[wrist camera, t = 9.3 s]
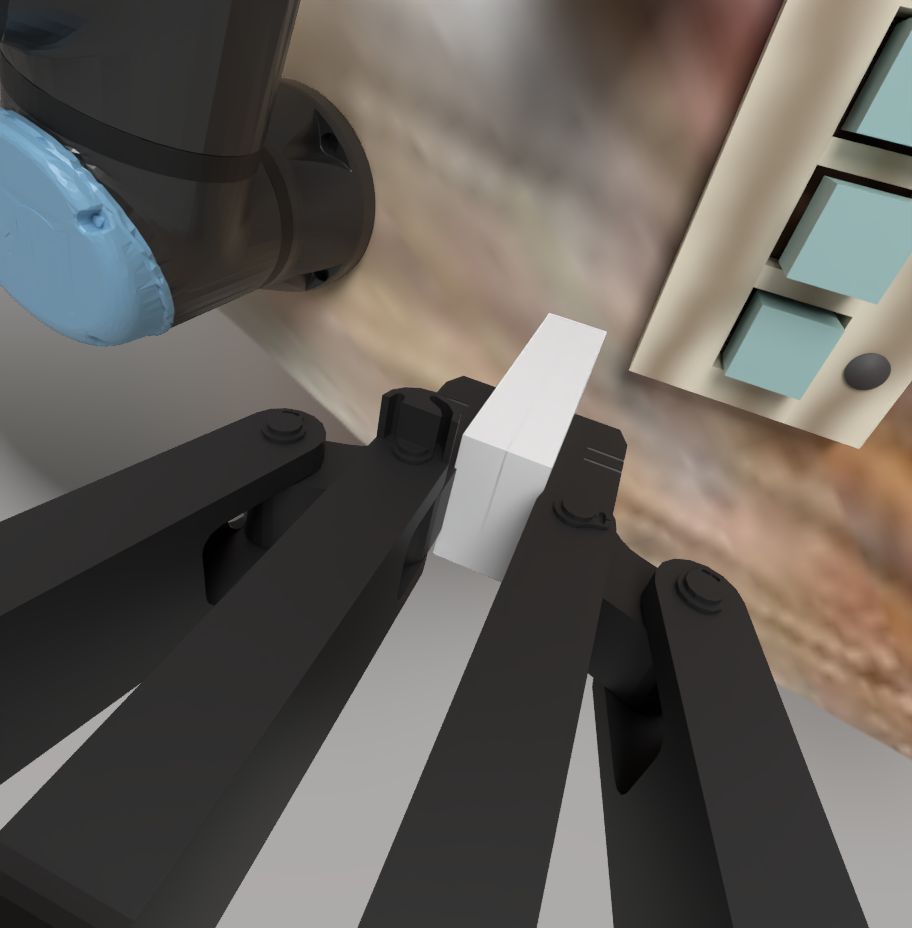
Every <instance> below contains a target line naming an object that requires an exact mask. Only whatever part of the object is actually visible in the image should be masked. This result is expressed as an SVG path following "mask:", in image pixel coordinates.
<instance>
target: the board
mask: <svg viewBox="0 0 912 928" xmlns="http://www.w3.org/2000/svg"><path fill="white" fill-rule="evenodd" d="M895 16H897V17H902V18H907V19H909V18H912V0H784V1H783V4H782V6H781V8H780V11H779V13H778V16H777V18H776V20H775V23H774V25H773V27H772V30H771V32H770V34H769V37H768V39H767V41H766V44H765V46H764V48H763V51H762V53H761V56H760V58H759V60H758V63H757V65H756V67H755V70H754V72H753V74H752V77H751V79H750V81H749V84H748V86H747V88H746V91H745V93H744V96H743V98H742V100H741V103H740V105H739V107H738V110H737V112H736V114H735V117H734V119H733V121H732V124H731V126H730V128H729V131H728V133H727V136H726V138H725V140H724V143H723V145H722V147H721V150H720V152H719V154H718V157H717V159H716V161H715V164H714V166H713V168H712V171H711V173H710V176H709V178H708V180H707V183H706V185H705V187H704V190H703V192H702V194H701V197H700V199H699V201H698V204H697V206H696V208H695V211H694V213H693V216H692V218H691V220H690V223H689V225H688V227H687V230H686V232H685V234H684V237H683V239H682V241H681V244H680V246H679V248H678V251H677V253H676V256H675V258H674V260H673V263H672V265H671V267H670V270H669V272H668V274H667V277H666V279H665V281H664V284H663V286H662V289H661V291H660V293H659V296H658V298H657V300H656V303H655V305H654V307H653V310H652V312H651V314H650V317H649V319H648V321H647V324H646V326H645V329H644V331H643V333H642V336H641V338H640V340H639V343H638V345H637V347H636V350H635V352H634V354H633V357H632V361H631V365H630V368H629V371H632V372H635V373H638V374H641V375H643V376H646V377H649V378H652V379H655V380H658V381H661V382H664V383H667V384H670V385H673V386H676V387H679V388H682V389H685V390H687V391H690V392H693V393H696V394H699V395H702V396H705V397H708V398H711V399H714V400H717V401H720V402H723V403H726V404H729V405H731V406H734V407H737V408H740V409H743V410H746V411H749V412H752V413H755V414H758V415H761V416H764V417H767V418H770V419H772V420H775V421H778V422H781V423H784V424H787V425H790V426H793V427H796V428H799V429H802V430H805V431H808V432H811V433H814V434H816V435H819V436H822V437H825V438H828V439H831V440H834V441H837V442H840V443H843V444H846V445H849V446H852V447H855V448H858V449H860V447H861V446H862V445H863V444H864V442H865V441H866V440H867V438H868V437H869V436H870V434H871V433H872V432H873V430H874V429H875V428H876V427H877V425H878V424H879V423H880V421H881V420H882V419H883V417H884V416H885V415H886V413H887V412H888V411H889V410H890V408H891V407H892V406H893V404H894V403H895V402H896V400H897V399H898V398H899V396H900V395H901V394H902V393H903V391H904V390H905V389H906V387H907V386H908V385H909V383H910V382H911V381H912V253H911V255H910V256H909V258H908V259H907V261H906V262H905V264H904V265H903V267H902V268H901V270H900V271H899V273H898V274H897V276H896V277H895V279H894V280H893V282H892V283H891V285H890V286H889V288H888V289H887V291H886V292H885V294H884V295H883V297H882V298H881V300H880V301H879V303H878V304H873V303H870V302H867V301H863V300H860V299H857V298H853V297H850V296H847V295H843V294H840V293H837V292H833V291H830V290H827V289H823V288H820V287H816V286H813V285H810V284H806V283H803V282H800V281H796V280H793V279H790V278H786V276H785V274H784V272H783V270H782V268H781V266H780V264H779V262H778V261H779V260H778V259H775V258H771V257H769V256H770V254H771V252H772V250H773V248H774V247H775V245H776V243H777V241H778V239H779V237H780V235H781V233H782V231H783V229H784V227H785V226H786V224H787V222H788V220H789V218H790V216H791V214H792V212H793V210H794V208H795V206H796V204H797V203H798V201H799V199H800V197H801V195H802V193H803V191H804V189H805V187H806V185H807V183H808V181H809V180H810V178H811V176H812V174H813V172H814V170H815V168H816V166H817V165H820V166H824V167H828V168H831V169H835V170H839V171H843V172H847V173H850V174H854V175H858V176H862V177H866V178H869V179H873V180H877V181H881V182H885V183H888V184H892V185H896V186H900V187H904V188H907V189H911V190H912V156H908V155H904V154H900V153H896V152H892V151H888V150H884V149H880V148H876V147H872V146H868V145H864V144H860V143H856V142H853V141H849V140H845V139H841V138H837V137H833V136H832V135H833V134H834V132H835V130H836V128H837V126H838V124H839V122H840V120H841V118H842V116H843V114H844V112H845V111H846V109H847V107H848V105H849V103H850V101H851V99H852V97H853V95H854V93H855V91H856V89H857V88H858V86H859V84H860V82H861V80H862V78H863V76H864V74H865V72H866V70H867V68H868V66H869V65H870V63H871V61H872V59H873V57H874V55H875V53H876V51H877V49H878V47H879V45H880V43H881V42H882V40H883V38H884V36H885V34H886V32H887V30H888V28H889V26H890V24H891V22H892V20H893V19H894V17H895ZM909 198H910V199H912V194H911V196H910V197H909ZM753 287H755V288H758V289H762V290H765V291H768V292H771V293H775V294H778V295H781V296H785V297H788V298H791V299H794V300H798V301H801V302H804V303H808V304H811V305H814V306H817V307H821V308H824V309H827V310H831V311H834V312H837V314H836V317H837V319H838V320H839V322H840V323H841V325H842V326H843V328H844V330H845V332H844V333H843V335H842V336H841V338H840V339H839V341H838V342H837V344H836V345H835V347H834V349H833V350H832V352H831V353H830V355H829V356H828V358H827V359H826V361H825V362H824V364H823V365H822V367H821V369H820V370H819V372H818V373H817V375H816V376H815V378H814V379H813V381H812V382H811V384H810V385H809V387H808V389H807V390H806V392H805V393H804V395H803V396H802V398H801V399H800V400H797V399H794V398H791V397H788V396H785V395H782V394H779V393H776V392H773V391H770V390H767V389H764V388H761V387H758V386H755V385H752V384H749V383H746V382H743V381H740V380H737V379H734V378H731V377H728V376H725V375H724V363H723V355H722V354H719V352H720V350H721V348H722V346H723V344H724V342H725V340H726V339H727V337H728V335H729V333H730V331H731V329H732V327H733V325H734V323H735V321H736V319H737V317H738V316H739V314H740V312H741V310H742V308H743V306H744V304H745V302H746V300H747V298H748V296H749V294H750V293H751V291H752V289H753Z"/></svg>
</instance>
